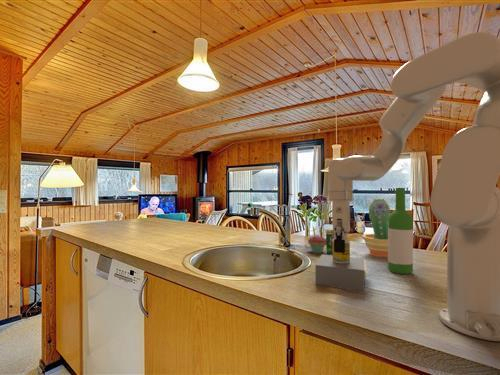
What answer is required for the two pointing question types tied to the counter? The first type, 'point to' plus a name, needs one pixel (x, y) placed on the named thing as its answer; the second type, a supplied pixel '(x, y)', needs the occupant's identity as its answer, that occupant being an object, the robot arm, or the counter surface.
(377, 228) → the potted cactus
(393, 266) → the wine bottle
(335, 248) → the robot arm
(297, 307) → the counter surface
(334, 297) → the counter surface
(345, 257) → the supplement bottle
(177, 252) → the counter surface
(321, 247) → the cupcake
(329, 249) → the coffee box
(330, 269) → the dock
